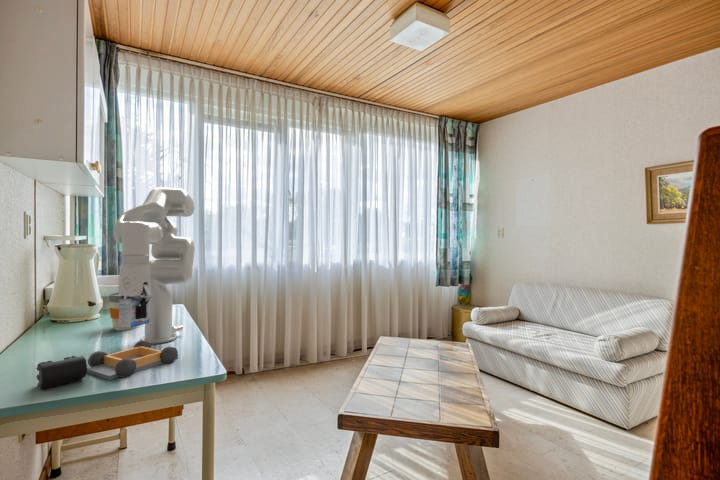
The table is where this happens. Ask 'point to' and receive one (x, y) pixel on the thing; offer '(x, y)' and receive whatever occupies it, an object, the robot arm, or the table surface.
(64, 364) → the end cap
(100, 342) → the table surface
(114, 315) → the reusable coffee cup
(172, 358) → the chassis
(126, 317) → the medicine box
